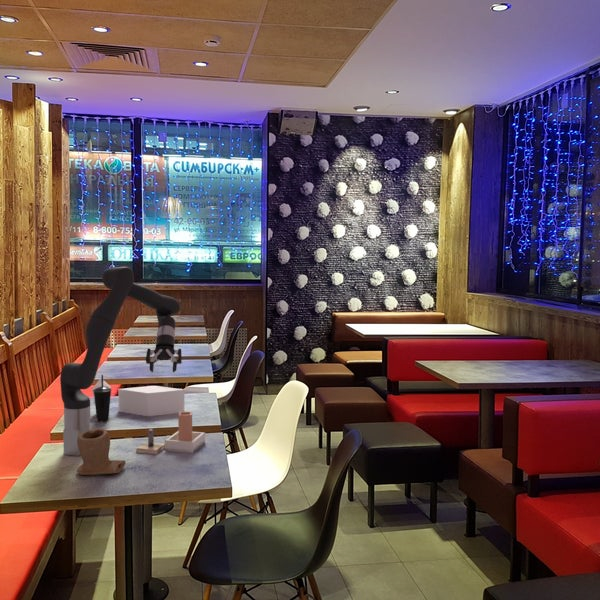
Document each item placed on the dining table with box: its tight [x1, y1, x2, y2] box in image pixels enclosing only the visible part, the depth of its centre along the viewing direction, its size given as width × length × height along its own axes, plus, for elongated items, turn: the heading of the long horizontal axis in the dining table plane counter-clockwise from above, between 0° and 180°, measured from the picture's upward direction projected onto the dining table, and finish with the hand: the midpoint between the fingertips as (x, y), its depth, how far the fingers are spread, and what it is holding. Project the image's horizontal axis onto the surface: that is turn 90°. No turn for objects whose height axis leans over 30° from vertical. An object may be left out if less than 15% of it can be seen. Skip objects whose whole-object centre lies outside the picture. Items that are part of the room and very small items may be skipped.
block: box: [117, 385, 185, 417], centre depth 299 cm, size 15×30×11 cm, turn 92°
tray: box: [164, 430, 206, 454], centre depth 250 cm, size 13×11×4 cm
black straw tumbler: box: [91, 378, 112, 404], centre depth 294 cm, size 8×8×16 cm
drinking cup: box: [92, 374, 112, 423], centre depth 283 cm, size 8×8×20 cm
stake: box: [147, 428, 155, 447], centre depth 245 cm, size 3×2×6 cm
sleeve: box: [177, 411, 193, 442], centre depth 250 cm, size 5×5×12 cm
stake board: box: [135, 441, 165, 455], centre depth 246 cm, size 8×8×2 cm
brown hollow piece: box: [76, 428, 127, 476], centre depth 220 cm, size 15×12×15 cm
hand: (162, 371), depth 262 cm, fingers open, 8 cm apart
